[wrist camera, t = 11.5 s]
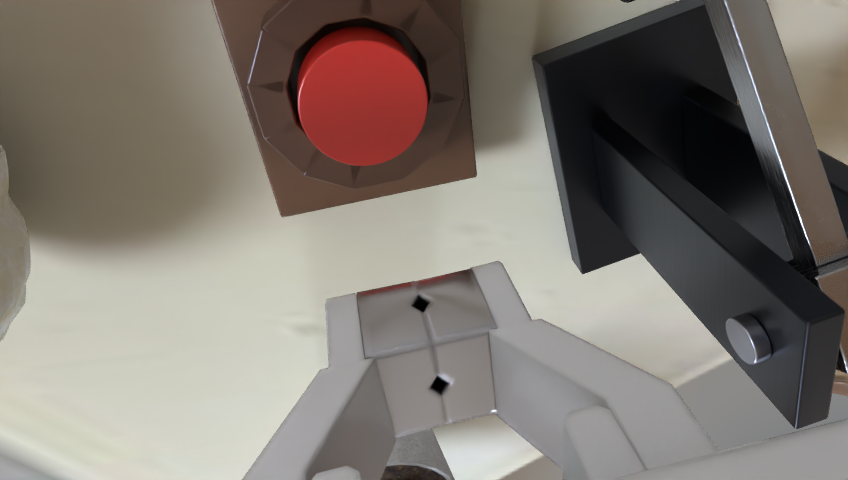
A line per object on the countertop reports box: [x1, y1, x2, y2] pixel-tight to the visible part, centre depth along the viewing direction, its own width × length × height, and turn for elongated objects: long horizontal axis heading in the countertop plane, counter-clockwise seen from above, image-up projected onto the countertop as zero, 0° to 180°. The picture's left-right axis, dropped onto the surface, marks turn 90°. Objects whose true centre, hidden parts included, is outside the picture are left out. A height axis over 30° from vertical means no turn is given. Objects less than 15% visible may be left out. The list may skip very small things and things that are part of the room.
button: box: [298, 26, 428, 166], centre depth 18 cm, size 4×4×2 cm
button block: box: [211, 0, 477, 217], centre depth 20 cm, size 10×8×4 cm
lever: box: [621, 0, 848, 374], centre depth 16 cm, size 13×6×2 cm
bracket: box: [532, 0, 848, 429], centre depth 21 cm, size 11×8×14 cm
